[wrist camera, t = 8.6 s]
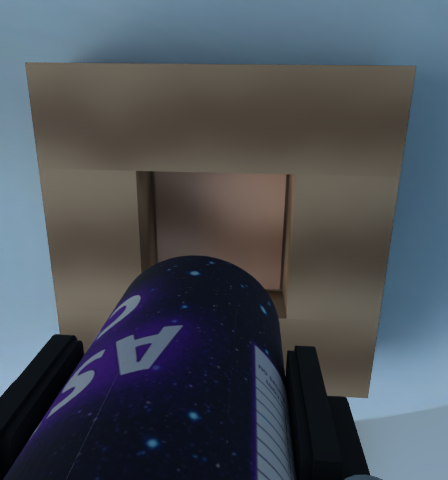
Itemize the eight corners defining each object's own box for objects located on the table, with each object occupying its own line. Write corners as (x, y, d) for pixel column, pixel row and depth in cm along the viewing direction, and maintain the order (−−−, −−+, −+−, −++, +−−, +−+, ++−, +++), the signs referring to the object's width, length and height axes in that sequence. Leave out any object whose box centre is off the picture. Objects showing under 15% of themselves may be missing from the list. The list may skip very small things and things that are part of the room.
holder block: (64, 67, 24) (25, 62, 20) (386, 70, 23) (416, 65, 19) (92, 342, 30) (66, 382, 26) (351, 353, 29) (367, 398, 25)
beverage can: (205, 212, 14) (31, 644, 3) (310, 328, 16) (460, 950, 4) (93, 309, 16) (-302, 838, 5) (196, 407, 17) (82, 1027, 6)
